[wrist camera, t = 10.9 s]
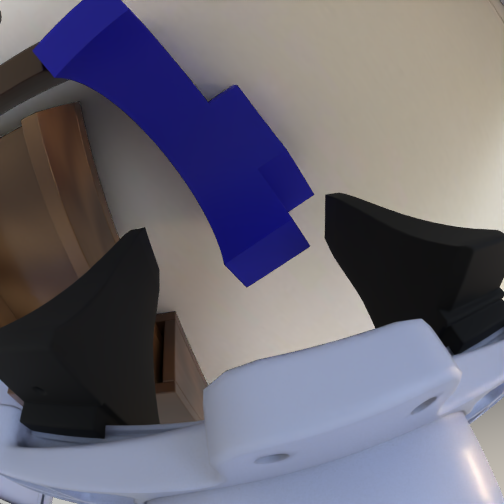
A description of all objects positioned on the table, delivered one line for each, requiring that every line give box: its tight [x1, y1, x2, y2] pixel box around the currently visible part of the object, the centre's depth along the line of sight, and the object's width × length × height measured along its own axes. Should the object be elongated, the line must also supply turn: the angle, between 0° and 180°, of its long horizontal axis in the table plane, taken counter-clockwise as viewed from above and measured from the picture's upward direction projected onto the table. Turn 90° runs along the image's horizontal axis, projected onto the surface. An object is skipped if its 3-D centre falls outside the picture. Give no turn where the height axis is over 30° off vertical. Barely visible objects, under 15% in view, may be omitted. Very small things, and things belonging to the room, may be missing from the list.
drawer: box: [0, 11, 163, 383], centre depth 11 cm, size 23×13×5 cm, turn 6°
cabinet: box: [7, 311, 208, 424], centre depth 22 cm, size 20×14×7 cm
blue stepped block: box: [33, 0, 314, 287], centre depth 10 cm, size 12×4×6 cm, turn 34°
